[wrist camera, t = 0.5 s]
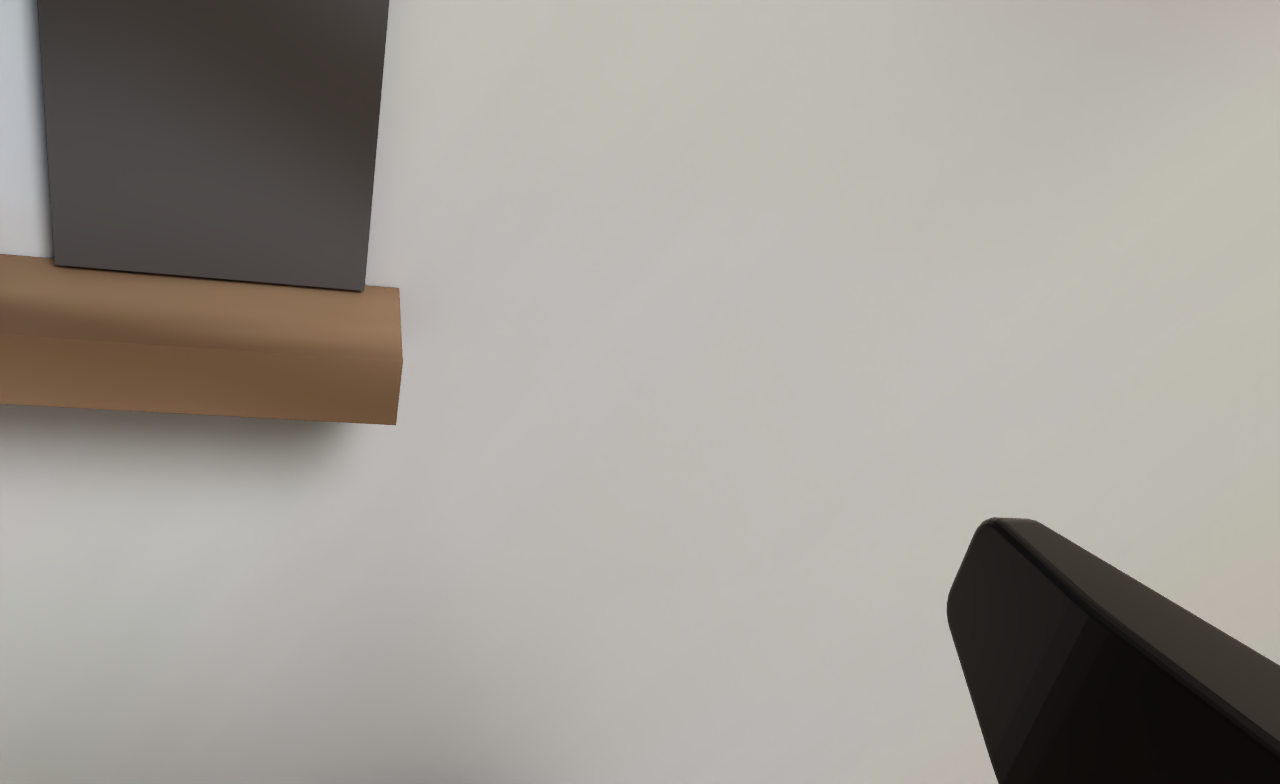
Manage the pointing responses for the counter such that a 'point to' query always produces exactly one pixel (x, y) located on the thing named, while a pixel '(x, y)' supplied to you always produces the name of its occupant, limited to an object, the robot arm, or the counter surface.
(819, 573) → the counter surface
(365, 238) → the trap channel
